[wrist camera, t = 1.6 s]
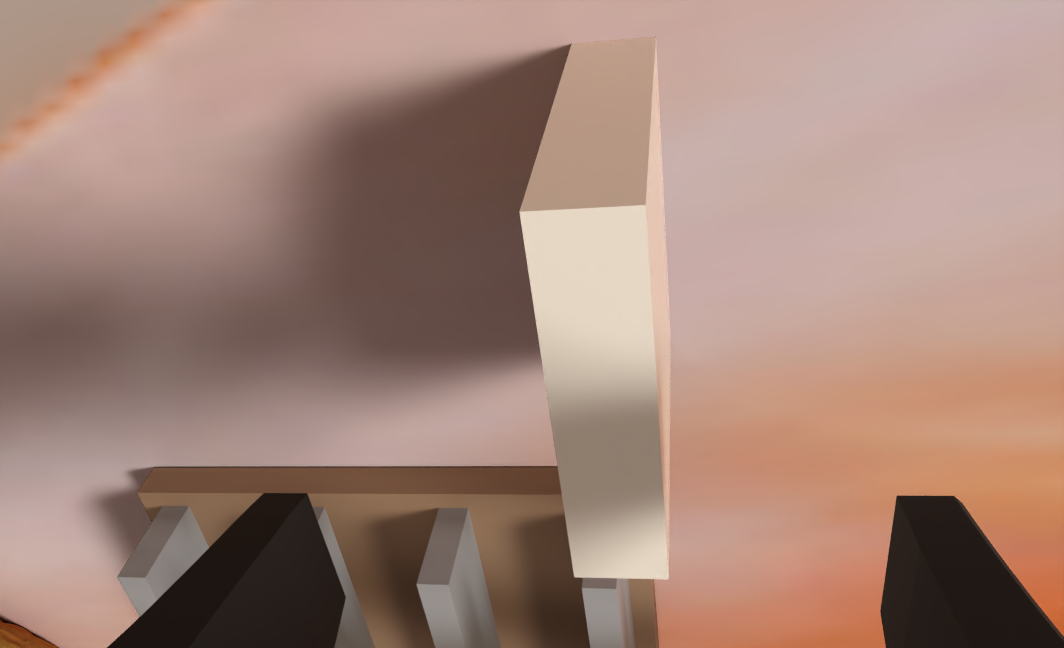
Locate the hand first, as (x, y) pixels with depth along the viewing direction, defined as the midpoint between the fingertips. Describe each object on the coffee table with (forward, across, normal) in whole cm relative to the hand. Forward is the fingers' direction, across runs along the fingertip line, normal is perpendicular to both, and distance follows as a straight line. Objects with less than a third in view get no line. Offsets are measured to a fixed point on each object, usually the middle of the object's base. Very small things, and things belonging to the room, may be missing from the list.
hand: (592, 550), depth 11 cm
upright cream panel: (+10, 0, 0) cm, 10 cm away
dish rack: (+9, +7, +12) cm, 17 cm away
